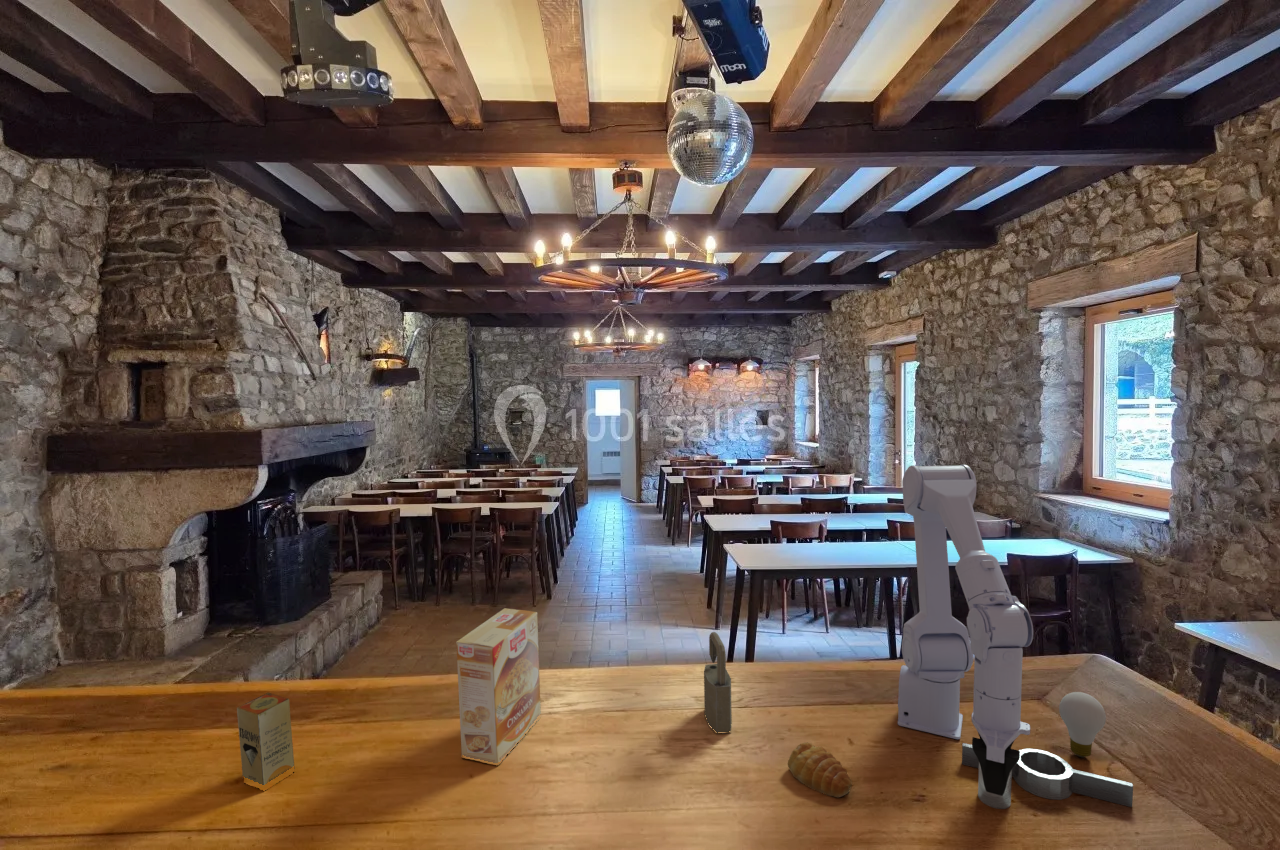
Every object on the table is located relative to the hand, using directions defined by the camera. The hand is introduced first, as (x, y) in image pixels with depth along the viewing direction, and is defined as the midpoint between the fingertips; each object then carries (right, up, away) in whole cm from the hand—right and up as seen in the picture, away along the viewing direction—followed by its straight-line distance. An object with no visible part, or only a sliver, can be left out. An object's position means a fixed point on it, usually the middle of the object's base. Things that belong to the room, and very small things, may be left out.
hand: (994, 782), depth 90 cm
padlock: (-36, -2, +22) cm, 42 cm away
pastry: (-23, -3, +6) cm, 24 cm away
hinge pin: (0, -2, 0) cm, 2 cm away
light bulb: (+18, -1, +9) cm, 21 cm away
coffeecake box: (-72, -3, +18) cm, 75 cm away
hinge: (+9, -2, +3) cm, 10 cm away
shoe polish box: (-106, -5, +9) cm, 107 cm away
